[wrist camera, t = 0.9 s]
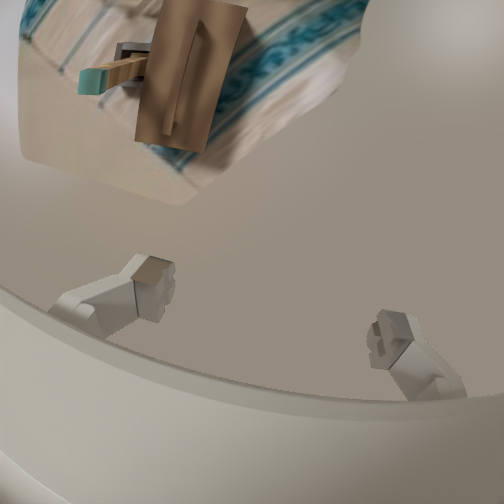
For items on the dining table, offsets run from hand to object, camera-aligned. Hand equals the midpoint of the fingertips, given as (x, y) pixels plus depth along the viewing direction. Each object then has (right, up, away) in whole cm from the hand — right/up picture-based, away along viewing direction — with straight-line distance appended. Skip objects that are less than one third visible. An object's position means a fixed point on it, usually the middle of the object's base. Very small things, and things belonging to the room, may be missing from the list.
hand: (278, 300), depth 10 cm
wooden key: (-21, +37, +29) cm, 51 cm away
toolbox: (-16, +36, +30) cm, 49 cm away
